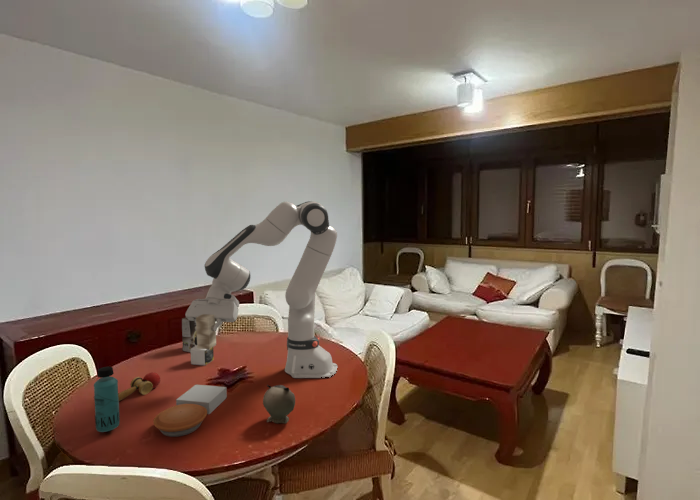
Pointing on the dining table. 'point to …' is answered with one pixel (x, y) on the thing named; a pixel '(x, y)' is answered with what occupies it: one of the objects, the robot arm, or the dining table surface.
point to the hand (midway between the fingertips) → (205, 330)
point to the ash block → (205, 331)
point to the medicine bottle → (201, 355)
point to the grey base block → (204, 396)
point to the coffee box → (188, 334)
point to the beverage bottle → (106, 400)
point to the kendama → (141, 385)
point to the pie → (180, 419)
